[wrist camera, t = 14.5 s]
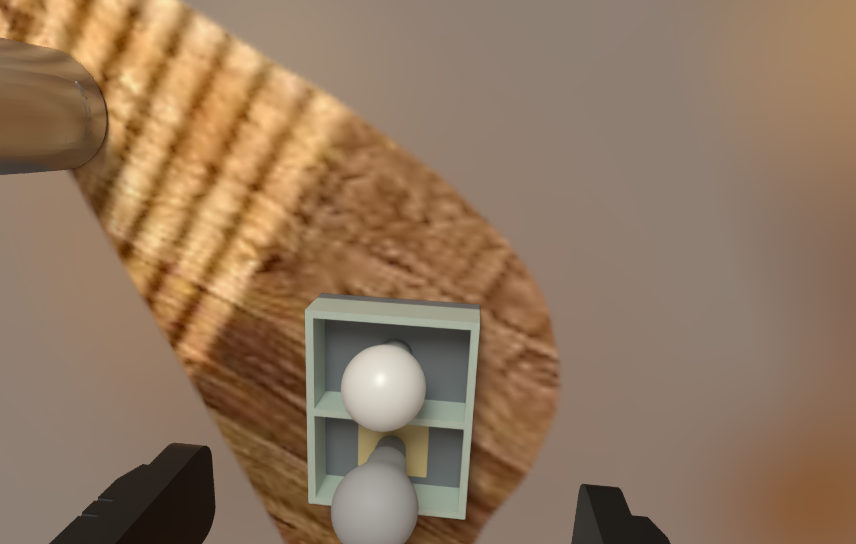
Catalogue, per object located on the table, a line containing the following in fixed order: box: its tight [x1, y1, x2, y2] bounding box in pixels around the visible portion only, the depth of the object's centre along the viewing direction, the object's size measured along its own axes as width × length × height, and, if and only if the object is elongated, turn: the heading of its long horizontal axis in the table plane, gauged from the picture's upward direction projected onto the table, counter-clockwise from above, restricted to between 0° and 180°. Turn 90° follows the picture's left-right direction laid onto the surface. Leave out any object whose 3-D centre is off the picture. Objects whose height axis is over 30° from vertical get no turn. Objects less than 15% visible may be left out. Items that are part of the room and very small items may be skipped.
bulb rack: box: [305, 293, 480, 520], centre depth 39 cm, size 13×17×10 cm
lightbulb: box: [331, 435, 418, 544], centre depth 38 cm, size 6×6×11 cm
